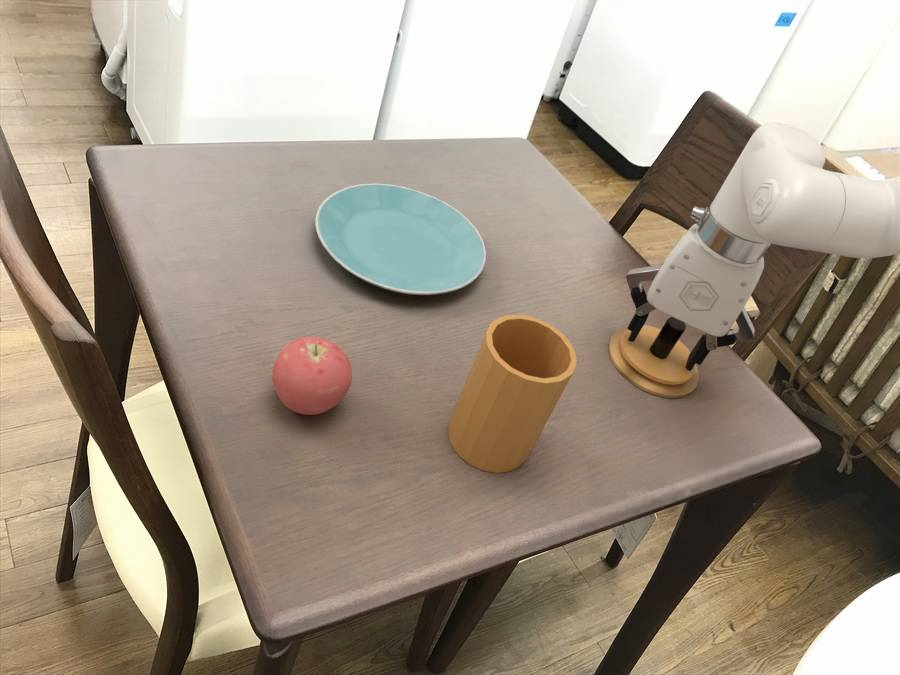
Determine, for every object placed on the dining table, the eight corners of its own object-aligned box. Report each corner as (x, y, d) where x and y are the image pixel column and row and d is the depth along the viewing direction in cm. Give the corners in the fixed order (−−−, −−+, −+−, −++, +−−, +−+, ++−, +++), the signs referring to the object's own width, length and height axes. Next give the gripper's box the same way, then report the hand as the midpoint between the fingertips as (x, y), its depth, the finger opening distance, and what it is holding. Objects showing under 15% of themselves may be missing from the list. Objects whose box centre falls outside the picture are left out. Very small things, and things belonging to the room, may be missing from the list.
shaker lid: (704, 368, 98) (728, 334, 94) (666, 399, 91) (691, 364, 87) (643, 322, 101) (664, 287, 97) (603, 349, 95) (624, 312, 91)
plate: (491, 320, 94) (498, 303, 92) (308, 294, 88) (312, 275, 86) (470, 215, 110) (475, 198, 108) (314, 188, 104) (317, 170, 102)
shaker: (544, 447, 81) (594, 359, 72) (491, 487, 75) (538, 396, 66) (485, 394, 84) (525, 303, 76) (430, 428, 79) (467, 334, 70)
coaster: (713, 374, 98) (715, 371, 98) (667, 412, 90) (669, 410, 90) (639, 317, 103) (641, 314, 102) (590, 350, 95) (591, 347, 95)
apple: (252, 397, 75) (260, 339, 70) (305, 364, 80) (317, 308, 75) (305, 443, 73) (318, 387, 68) (357, 406, 78) (373, 351, 73)
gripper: (653, 215, 82) (589, 334, 94) (807, 288, 80) (721, 400, 91) (666, 187, 88) (604, 303, 99) (810, 254, 85) (729, 364, 97)
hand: (661, 348), depth 95 cm, fingers open, 7 cm apart
